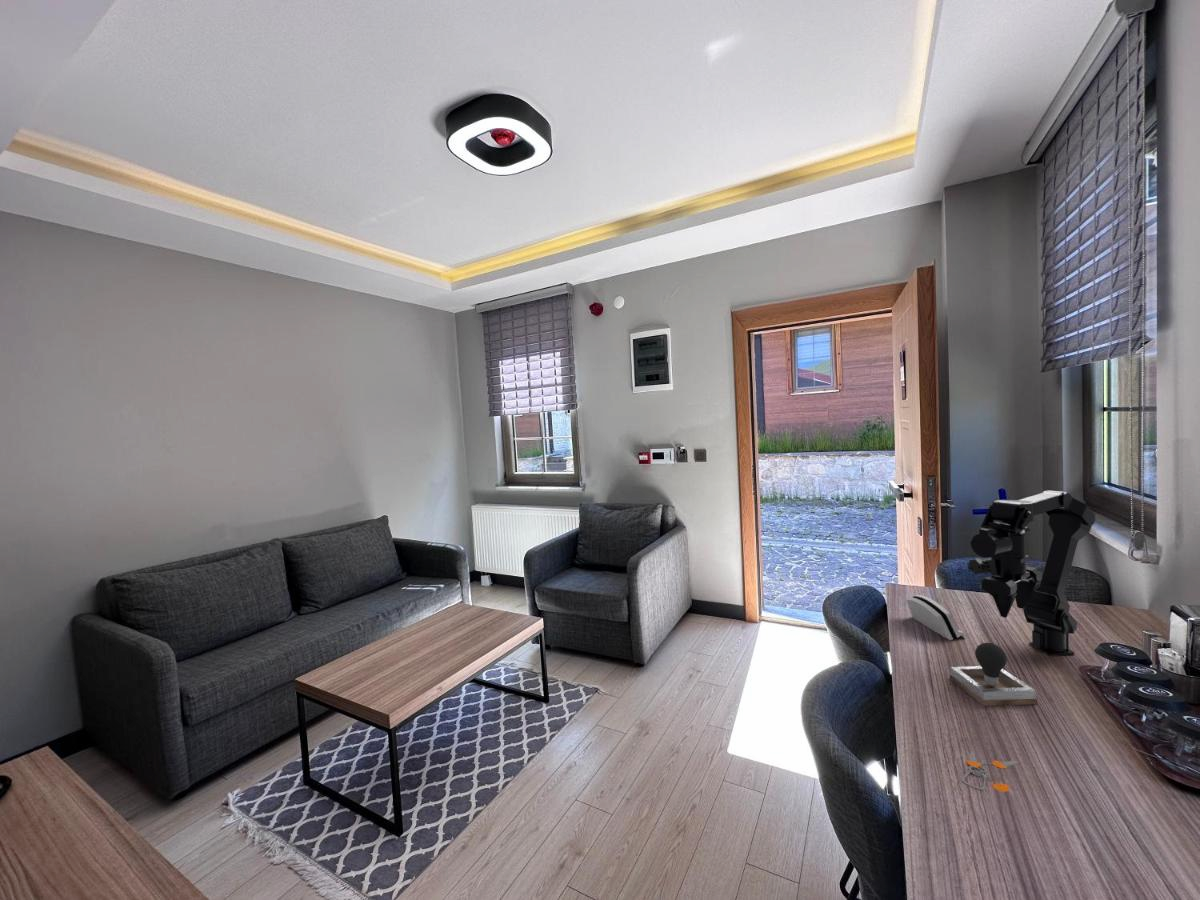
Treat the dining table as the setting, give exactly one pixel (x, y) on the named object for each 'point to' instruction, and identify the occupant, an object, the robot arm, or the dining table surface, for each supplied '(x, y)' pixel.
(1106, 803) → the dining table surface
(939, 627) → the white arched casing
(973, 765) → the key chain
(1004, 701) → the socket board
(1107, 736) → the dining table surface
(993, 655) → the light bulb
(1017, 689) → the socket collar
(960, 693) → the dining table surface
